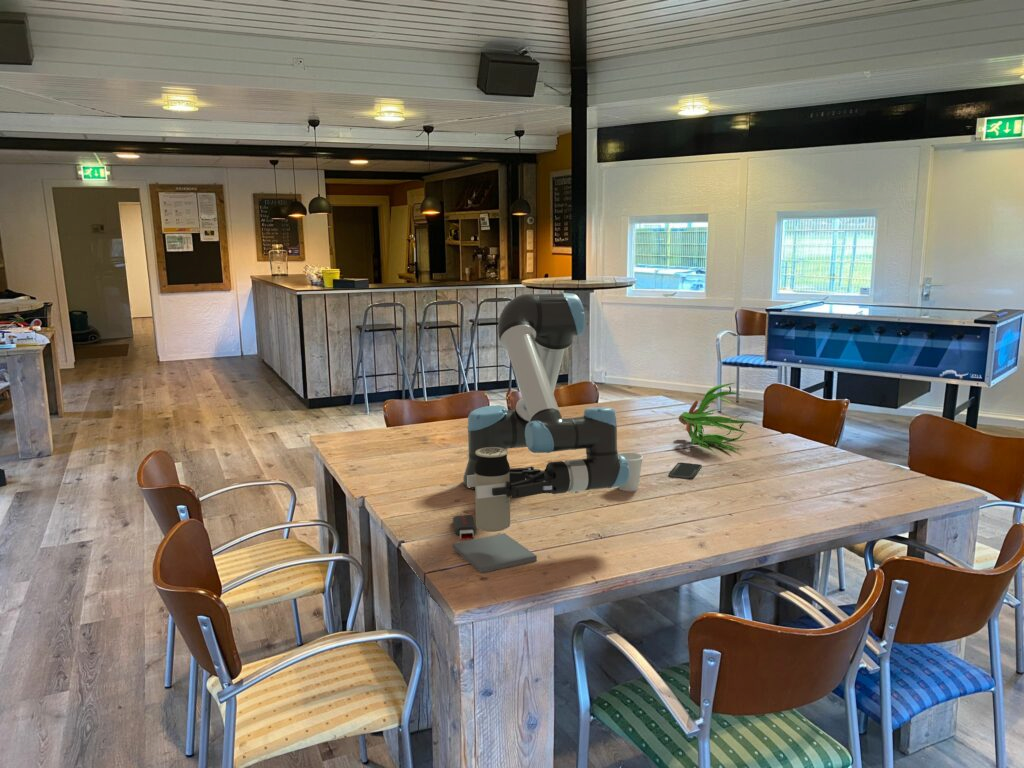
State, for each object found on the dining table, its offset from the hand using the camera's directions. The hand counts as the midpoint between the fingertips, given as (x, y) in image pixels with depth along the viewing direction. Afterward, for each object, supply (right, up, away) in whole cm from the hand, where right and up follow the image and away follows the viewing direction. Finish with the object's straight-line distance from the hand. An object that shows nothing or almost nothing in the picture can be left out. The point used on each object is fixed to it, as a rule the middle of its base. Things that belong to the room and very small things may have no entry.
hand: (472, 486), depth 172 cm
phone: (+64, -5, +69) cm, 94 cm away
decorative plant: (+80, +1, +99) cm, 127 cm away
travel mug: (+5, -10, +3) cm, 11 cm away
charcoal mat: (+5, -16, +4) cm, 18 cm away
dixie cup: (+44, -8, +52) cm, 68 cm away
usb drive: (-3, -14, +20) cm, 25 cm away
